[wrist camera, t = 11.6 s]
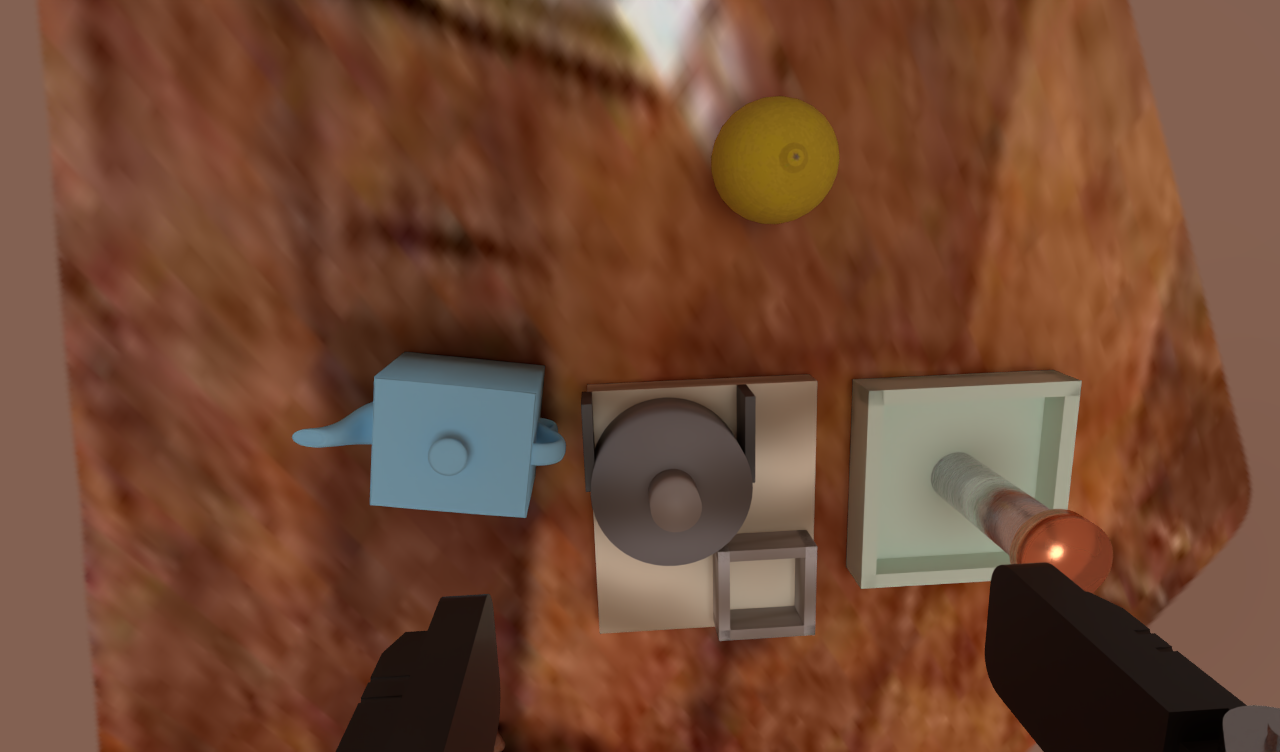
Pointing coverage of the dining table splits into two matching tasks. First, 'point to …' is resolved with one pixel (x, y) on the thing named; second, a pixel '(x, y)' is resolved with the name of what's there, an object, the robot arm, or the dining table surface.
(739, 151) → the lemon
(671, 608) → the pulley board
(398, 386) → the teapot
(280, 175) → the dining table surface
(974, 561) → the tray
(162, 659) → the dining table surface
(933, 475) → the pin
